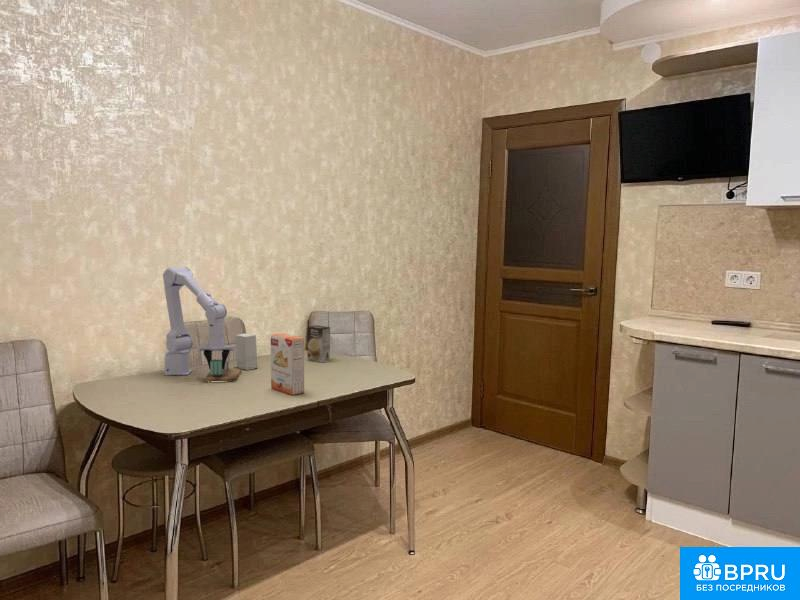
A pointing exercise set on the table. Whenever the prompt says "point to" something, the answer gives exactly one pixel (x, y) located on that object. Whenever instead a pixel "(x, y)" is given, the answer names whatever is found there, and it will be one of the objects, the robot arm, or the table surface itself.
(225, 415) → the table surface
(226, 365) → the fixed gear
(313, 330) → the coffee box
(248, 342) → the skincare box
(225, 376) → the gear board
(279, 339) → the cracker box
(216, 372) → the green grooved hollow block
